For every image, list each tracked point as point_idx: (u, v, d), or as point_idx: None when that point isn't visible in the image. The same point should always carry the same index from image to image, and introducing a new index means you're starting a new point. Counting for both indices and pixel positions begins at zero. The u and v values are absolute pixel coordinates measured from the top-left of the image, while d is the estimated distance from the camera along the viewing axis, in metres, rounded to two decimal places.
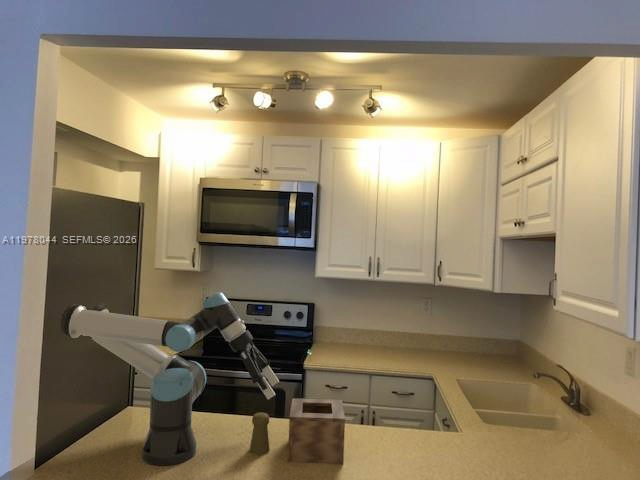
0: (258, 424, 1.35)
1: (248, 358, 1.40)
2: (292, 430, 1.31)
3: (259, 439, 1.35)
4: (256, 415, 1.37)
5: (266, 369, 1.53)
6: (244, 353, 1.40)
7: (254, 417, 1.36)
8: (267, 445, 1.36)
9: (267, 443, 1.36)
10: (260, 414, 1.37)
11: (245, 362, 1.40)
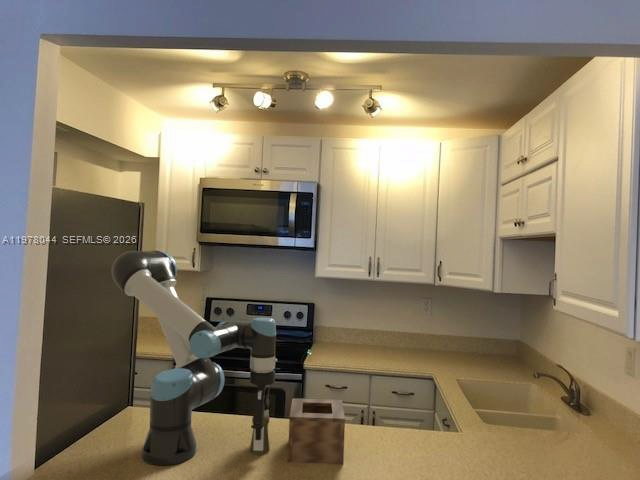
0: None
1: (261, 401, 1.30)
2: (292, 430, 1.31)
3: None
4: None
5: (264, 412, 1.44)
6: (261, 394, 1.31)
7: None
8: (267, 445, 1.36)
9: (267, 443, 1.36)
10: None
11: (256, 403, 1.30)
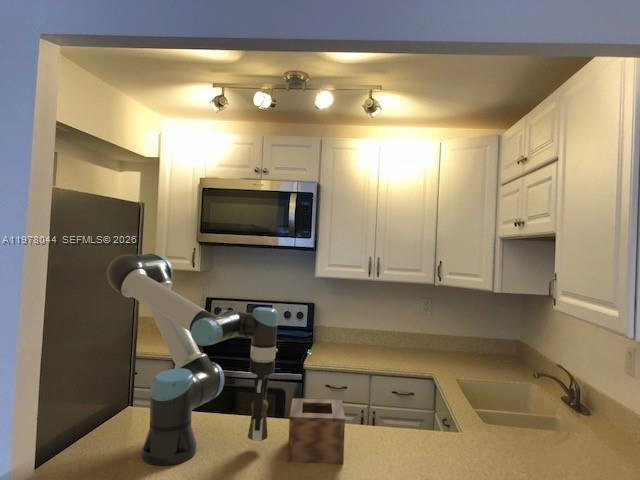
0: None
1: (261, 395, 1.31)
2: (292, 430, 1.31)
3: None
4: None
5: None
6: (260, 388, 1.31)
7: (253, 403, 1.36)
8: (265, 431, 1.37)
9: (265, 429, 1.37)
10: None
11: (256, 396, 1.31)
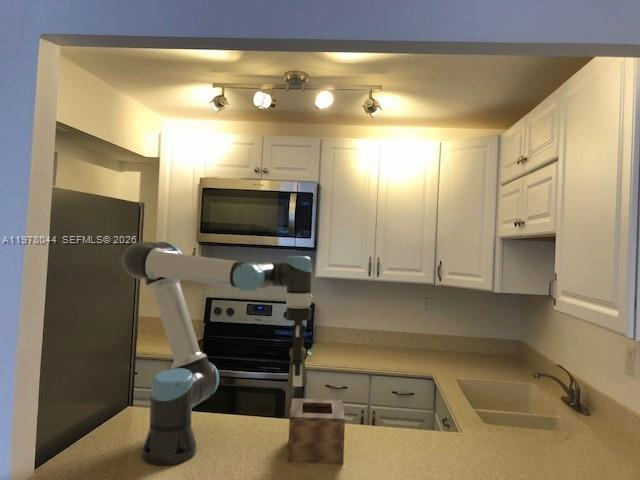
0: None
1: (299, 339, 1.32)
2: (292, 430, 1.31)
3: None
4: None
5: None
6: (298, 332, 1.32)
7: (291, 350, 1.37)
8: (305, 377, 1.37)
9: (305, 375, 1.37)
10: None
11: (295, 341, 1.32)
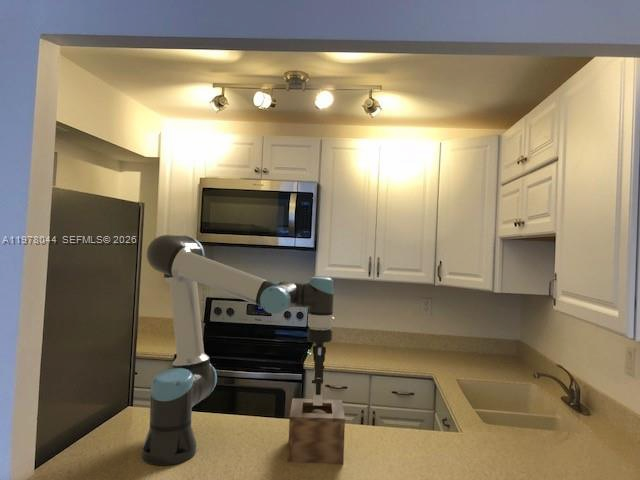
0: None
1: (321, 357, 1.32)
2: (292, 430, 1.31)
3: None
4: (316, 411, 1.39)
5: None
6: (321, 350, 1.32)
7: (314, 412, 1.38)
8: None
9: None
10: (319, 410, 1.39)
11: (317, 359, 1.31)
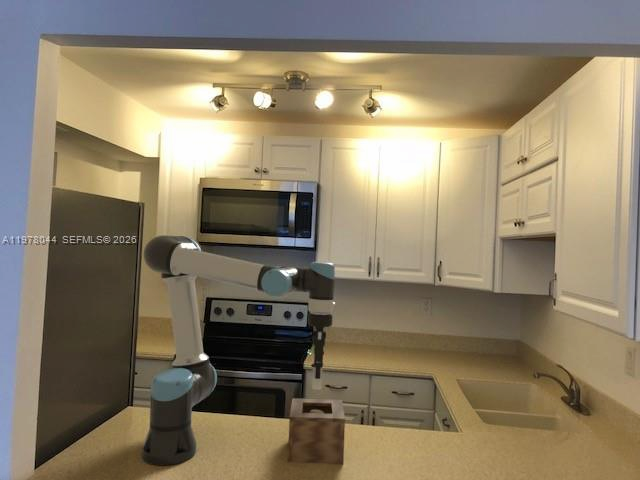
0: None
1: (321, 341, 1.32)
2: (292, 430, 1.31)
3: None
4: (314, 411, 1.39)
5: None
6: (321, 334, 1.32)
7: None
8: None
9: None
10: (317, 410, 1.39)
11: (317, 343, 1.32)
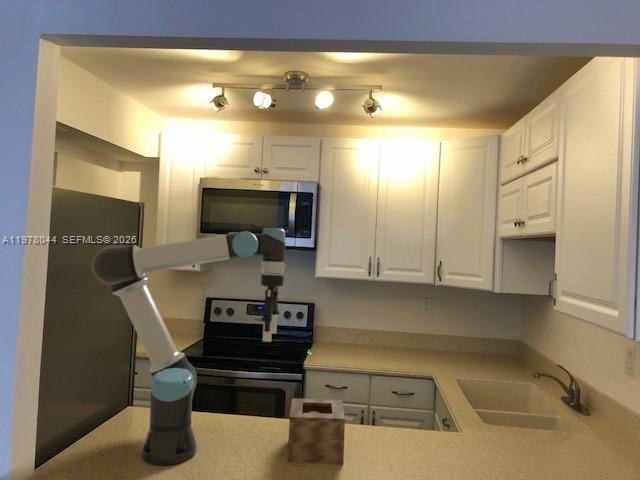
0: None
1: (271, 298, 1.45)
2: (292, 430, 1.31)
3: None
4: None
5: (273, 316, 1.59)
6: (270, 291, 1.46)
7: None
8: None
9: None
10: None
11: (266, 299, 1.45)
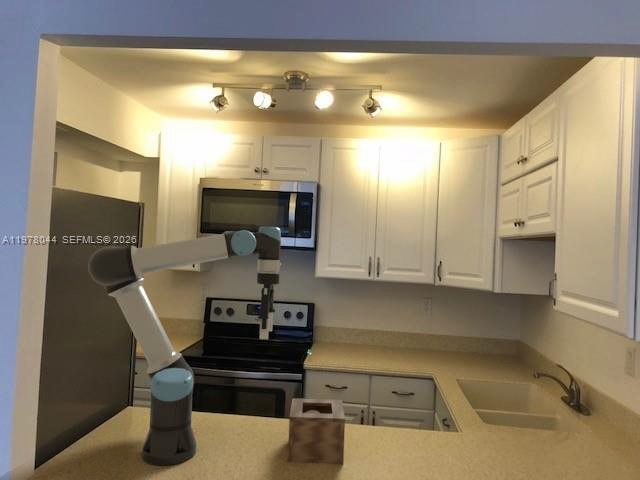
0: None
1: (267, 296, 1.47)
2: (292, 430, 1.31)
3: None
4: None
5: (269, 314, 1.60)
6: (267, 290, 1.47)
7: None
8: None
9: None
10: (312, 411, 1.39)
11: (263, 297, 1.47)
